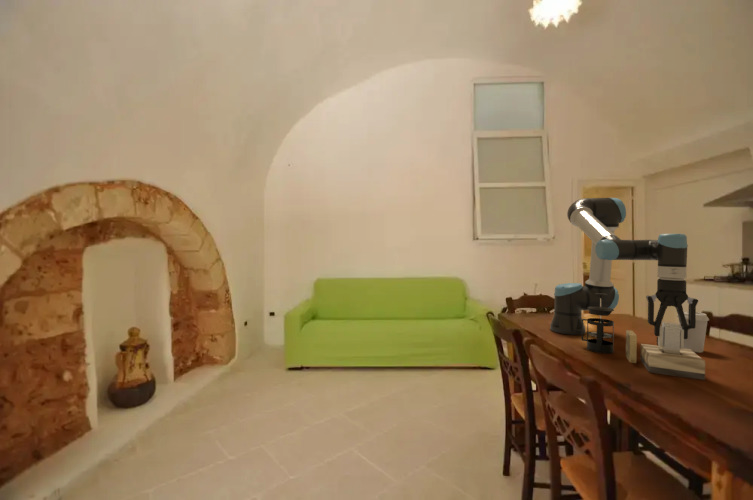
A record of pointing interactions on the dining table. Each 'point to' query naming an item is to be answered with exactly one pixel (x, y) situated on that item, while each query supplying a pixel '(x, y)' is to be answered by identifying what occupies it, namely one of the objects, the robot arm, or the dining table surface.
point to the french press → (599, 330)
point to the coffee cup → (696, 332)
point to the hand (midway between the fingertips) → (670, 346)
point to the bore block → (672, 362)
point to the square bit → (671, 338)
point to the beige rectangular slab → (631, 346)
